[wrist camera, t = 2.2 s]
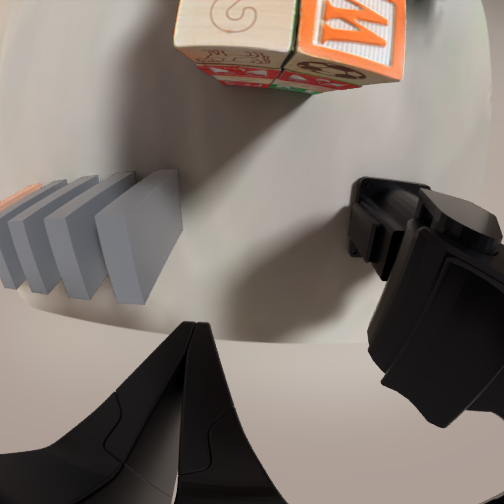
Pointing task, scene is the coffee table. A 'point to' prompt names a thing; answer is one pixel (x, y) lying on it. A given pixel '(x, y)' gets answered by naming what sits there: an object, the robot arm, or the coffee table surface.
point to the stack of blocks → (294, 42)
